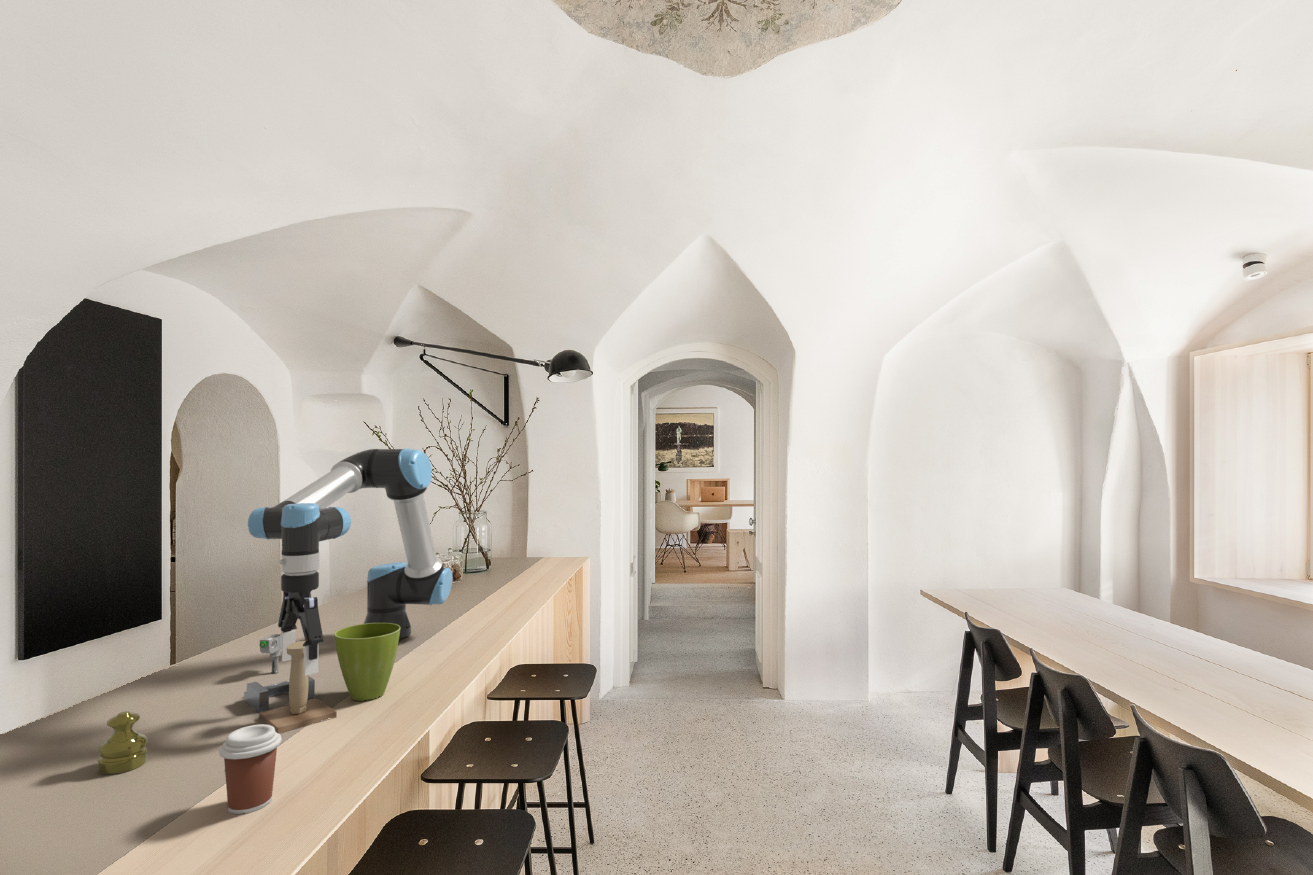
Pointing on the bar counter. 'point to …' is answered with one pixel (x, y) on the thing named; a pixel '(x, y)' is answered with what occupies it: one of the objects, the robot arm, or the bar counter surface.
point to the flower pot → (367, 657)
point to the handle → (297, 679)
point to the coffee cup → (250, 767)
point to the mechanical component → (272, 648)
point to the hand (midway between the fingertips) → (299, 666)
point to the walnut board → (297, 716)
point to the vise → (270, 693)
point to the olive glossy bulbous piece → (122, 746)
